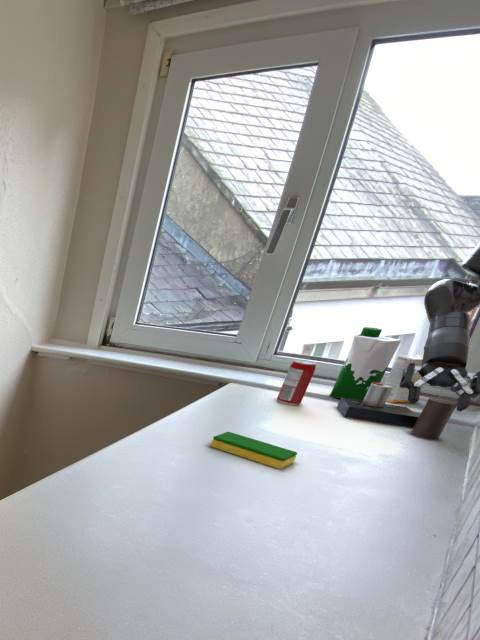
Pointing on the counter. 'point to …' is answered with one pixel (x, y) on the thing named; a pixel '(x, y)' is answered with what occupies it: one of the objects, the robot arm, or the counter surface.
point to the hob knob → (377, 394)
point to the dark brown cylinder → (433, 418)
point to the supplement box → (396, 375)
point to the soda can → (296, 382)
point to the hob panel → (377, 413)
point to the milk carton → (364, 364)
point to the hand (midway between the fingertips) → (437, 405)
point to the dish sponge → (254, 449)
